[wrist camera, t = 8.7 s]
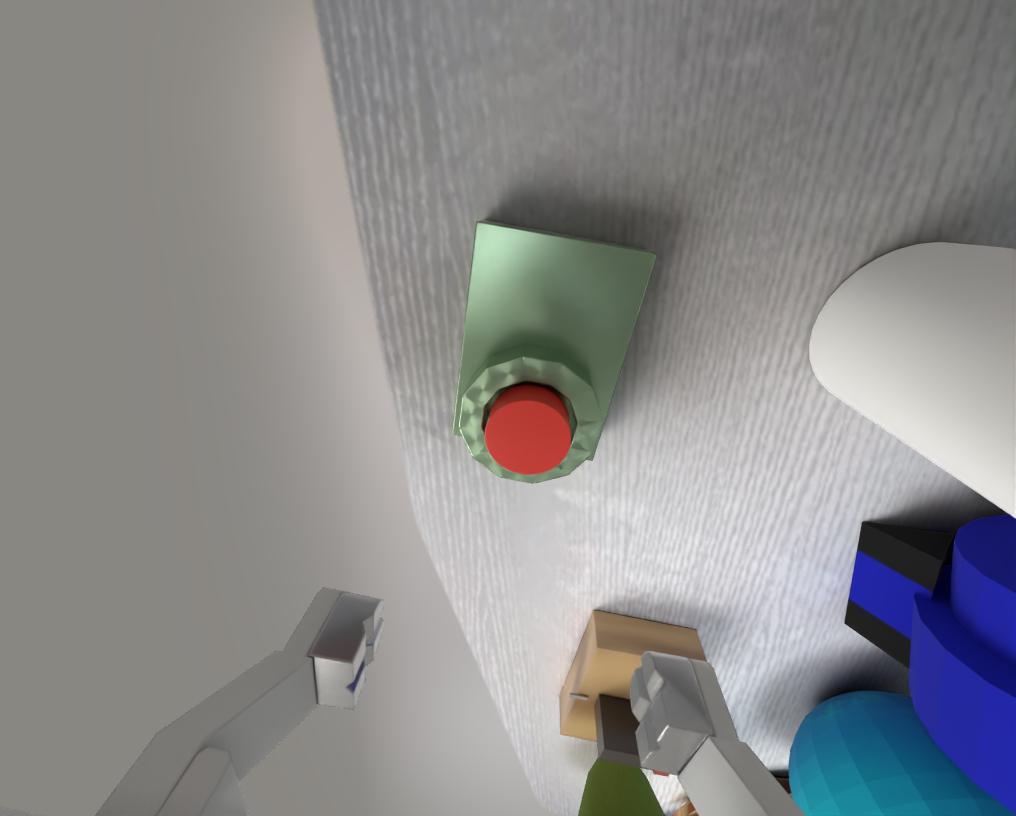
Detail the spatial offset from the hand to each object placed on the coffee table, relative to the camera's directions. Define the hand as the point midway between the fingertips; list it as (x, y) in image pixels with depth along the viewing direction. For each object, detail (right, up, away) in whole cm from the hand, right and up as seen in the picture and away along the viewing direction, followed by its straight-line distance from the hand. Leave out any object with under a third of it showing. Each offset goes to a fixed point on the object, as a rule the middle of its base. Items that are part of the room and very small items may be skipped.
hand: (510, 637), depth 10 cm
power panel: (+9, -16, +24) cm, 30 cm away
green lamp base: (+2, +9, +12) cm, 15 cm away
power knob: (+9, -17, +21) cm, 29 cm away
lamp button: (+1, +5, +10) cm, 11 cm away
